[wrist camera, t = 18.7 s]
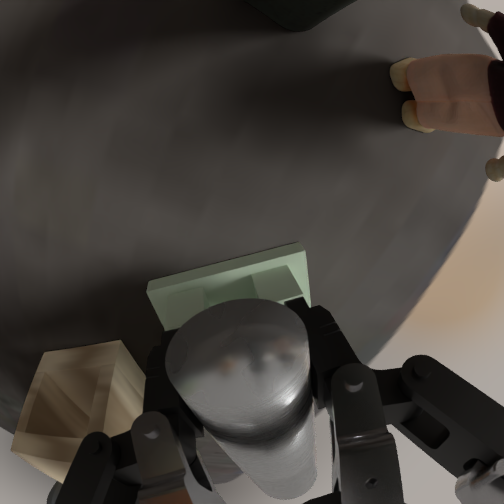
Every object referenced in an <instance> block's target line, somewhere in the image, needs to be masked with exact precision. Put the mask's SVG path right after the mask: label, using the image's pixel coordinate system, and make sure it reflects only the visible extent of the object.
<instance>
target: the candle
mask: <svg viewBox="0 0 504 504" xmlns="http://www.w3.org/2000/svg"><path fill="white" fill-rule="evenodd" d="M244 1H246V2H247V3H249V4H251V5H252V6H254V7H255V8H256V9H258V10H259V11H261V12H262V13H264V14H265V15H267V16H268V17H269V18H271V19H272V20H273V21H275V22H276V23H278V24H279V25H280V26H282V27H284V28H286V29H288V30H291V31H298V32H299V31H306V30H309V29H311V28H313V27H314V26H316V25H317V24H319V23H320V22H322V21H323V20H325V19H327V18H328V17H330V16H331V15H333V14H335V13H336V12H338V11H339V10H341V9H343V8H344V7H346V6H348V5H350V4H351V3H353V2H355V1H357V0H244Z"/></svg>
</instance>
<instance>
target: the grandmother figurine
mask: <svg viewBox="0 0 504 504" xmlns="http://www.w3.org/2000/svg"><path fill="white" fill-rule="evenodd" d="M461 16H462V18H463V20H464V21H465V22H466V23H468V24H469V25H471V26H474V27H480V28H481V29H482V30H483V31H485V32H487V33H489V35H490V37H491V38H492V40H493V42H494V43H495V45H496V47H497V48H498V51H499V53H500V55H501V57H502V59H503V61H500V60H497V59H495V58H492V57H490V56H486V55H481V54H441V55H435V56H431V57H426V58H420V59H415V58H407V59H404V60H402V61H400V62H397V63H395V64H393V65H392V66H391V68H390V77H391V80H392V82H393V85H394V86H395V87H396V88H397V89H398V90H400V91H412V93H413V95H414V97H415V100H408V101H406V102H404V104H403V106H402V120H403V122H404V124H405V125H406V126H407V127H409V128H411V129H414V130H418V131H421V132H424V133H429V132H432V131H433V130H435V129H437V130H443V131H449V132H457V133H467V134H475V135H485V136H496V137H503V136H504V14H503V13H501V12H499V11H498V12H496V13H493V12H490V11H488V10H485V9H479V8H477V7H476V6H474V5H472V4H464V5H463V6H462V7H461ZM485 169H486V174H487V176H488V178H489V179H490V180H492V181H495V182H498V181H501V180H502V179H503V178H504V156H502V157H501V158H500V159H495V158H493V159H490V160H489V161H488V162H487V163H486V167H485Z"/></svg>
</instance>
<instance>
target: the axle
mask: <svg viewBox="0 0 504 504" xmlns="http://www.w3.org/2000/svg"><path fill="white" fill-rule="evenodd" d="M165 368H166V372H167V375H168V377H169V380H170V381H171V383H172V384H173V386H174V387H175V389H176V390H177V392H178V393H179V394H180V396H181V397H182V398H183V400H184V401H185V403H186V404H187V405H188V407H189V408H190V409H191V411H192V412H193V413H194V414H195V416H196V417H197V418H198V420H199V421H200V422H201V423H202V425H203V426H204V427H205V428H206V430H207V431H208V432H209V433H210V435H211V436H212V437H213V438H214V439H215V441H216V442H217V443H218V444H219V445H220V446H221V448H222V449H223V450H224V451H225V452H226V453H227V454H228V456H229V457H230V458H231V459H232V460H233V461H234V462H235V463H236V464H237V465H238V466H239V468H240V469H241V470H242V471H243V472H244V473H245V474H246V475H247V476H248V477H249V478H250V479H251V480H252V481H253V482H254V483H255V484H256V485H257V486H258V487H259V488H260V489H261V490H262V491H263V492H264V493H266V494H267V495H269V496H270V497H273V498H277V499H285V500H286V499H293V498H296V497H299V496H301V495H303V494H305V493H306V492H307V491H308V490H309V489H310V488H311V487H312V486H313V484H314V482H315V480H316V477H317V459H316V436H315V419H314V403H313V389H312V377H311V365H310V354H309V344H308V335H307V331H306V328H305V325H304V323H303V322H302V320H301V319H300V317H299V316H298V315H297V314H296V313H295V312H294V311H292V310H291V309H290V308H288V307H286V306H285V305H282V304H280V303H278V302H274V301H271V300H266V299H258V298H245V299H236V300H230V301H226V302H223V303H219V304H216V305H214V306H211V307H209V308H207V309H205V310H203V311H201V312H199V313H198V314H196V315H195V316H193V317H192V318H190V319H189V320H188V321H187V322H186V323H184V324H183V325H182V326H181V327H180V328H179V329H178V331H177V332H176V333H175V335H174V336H173V338H172V339H171V341H170V343H169V346H168V348H167V352H166V357H165Z"/></svg>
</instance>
